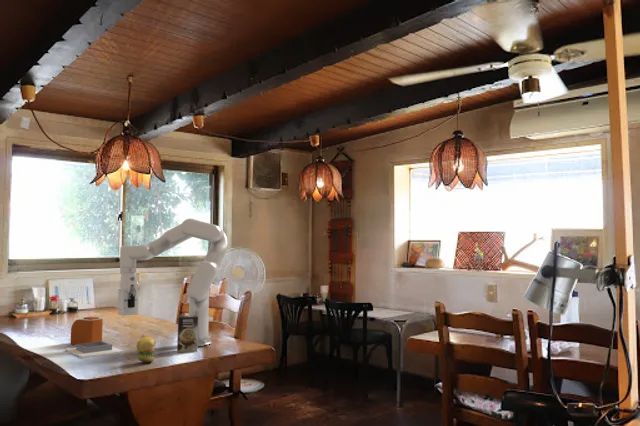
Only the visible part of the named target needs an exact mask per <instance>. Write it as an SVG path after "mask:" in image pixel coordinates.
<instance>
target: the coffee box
mask: <svg viewBox="0 0 640 426" xmlns="http://www.w3.org/2000/svg"><path fill="white" fill-rule="evenodd" d="M197 342H198V316H197V315H194V316H189V315H177V340H176V343H177V344H176V352H177V353H195V352H194V351H197V352H198V346H197Z"/></svg>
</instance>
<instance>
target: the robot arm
mask: <svg viewBox="0 0 640 426" xmlns="http://www.w3.org/2000/svg"><path fill="white" fill-rule="evenodd" d="M192 238H196V239H200V240H203V241H207V242H210V246H209V249H208V250H207V253H206V255H205V256H204V258H203V260H202V261H201V262H200V263H199V265H198V266H197V268H196V269H195V272H194V274H193V276H192V277H191V280H190V282H189V284H188V286H187V291H186V292H187V293H186V294H187V296H188V297H189V302H188V303H189V306H188V310H189V311H188V316H194V315H197V316H198V342H197V347H205V346H204V345H207V346H210V345H211V344H212V340H211V338H210V337H209V315H210V314H209V313H210V311H209V310H210V309H209V307H210V288H211V287H212V285H213V282H214V279H215V278H216V276H217V274H218V272H219V269H220V267H221V265H222V262H223V259H224V258H225V255H226V253H227V251H228V245H229V244H228V243H229V242H228V237H227V235H226V232H225V231H224V230H223V229H222V228H221V227H220V226H218V225H217V224H215V223H214V224H213V223H210V222H205V221H202V220H201V221H200V220H197V219H194V218H186V219H185V220H184V221H182V222H181V223H180V224H177V225H176V226H174V227H173V228H170V229H168V230H166V231H165V232H164V233H163V234H162V235H161V236H159V237H158V238H157V239H154V240H153V241H151V242H149V243H147V244H140V245H122V246H120V252H119V265H120V266H119V274H120V282H119V283H120V287H119V289H126V290H127V294H128V297H129V299H128V308H132V307H135V294H136V293H137V289H138V279H137V261H139V260H140V261H147V260H151V259H154V258H155V257H157V256H159V255H160V254H162V253H165V252H166V251H168V250H171V249H172V248H175V247H176V246H178V245H181V244H182V243H184V242H186V241H187V240H189V239H192ZM130 289H131V290H132V293H130V292H129V291H130ZM130 294H131V296H130ZM209 344H210V345H209Z"/></svg>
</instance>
